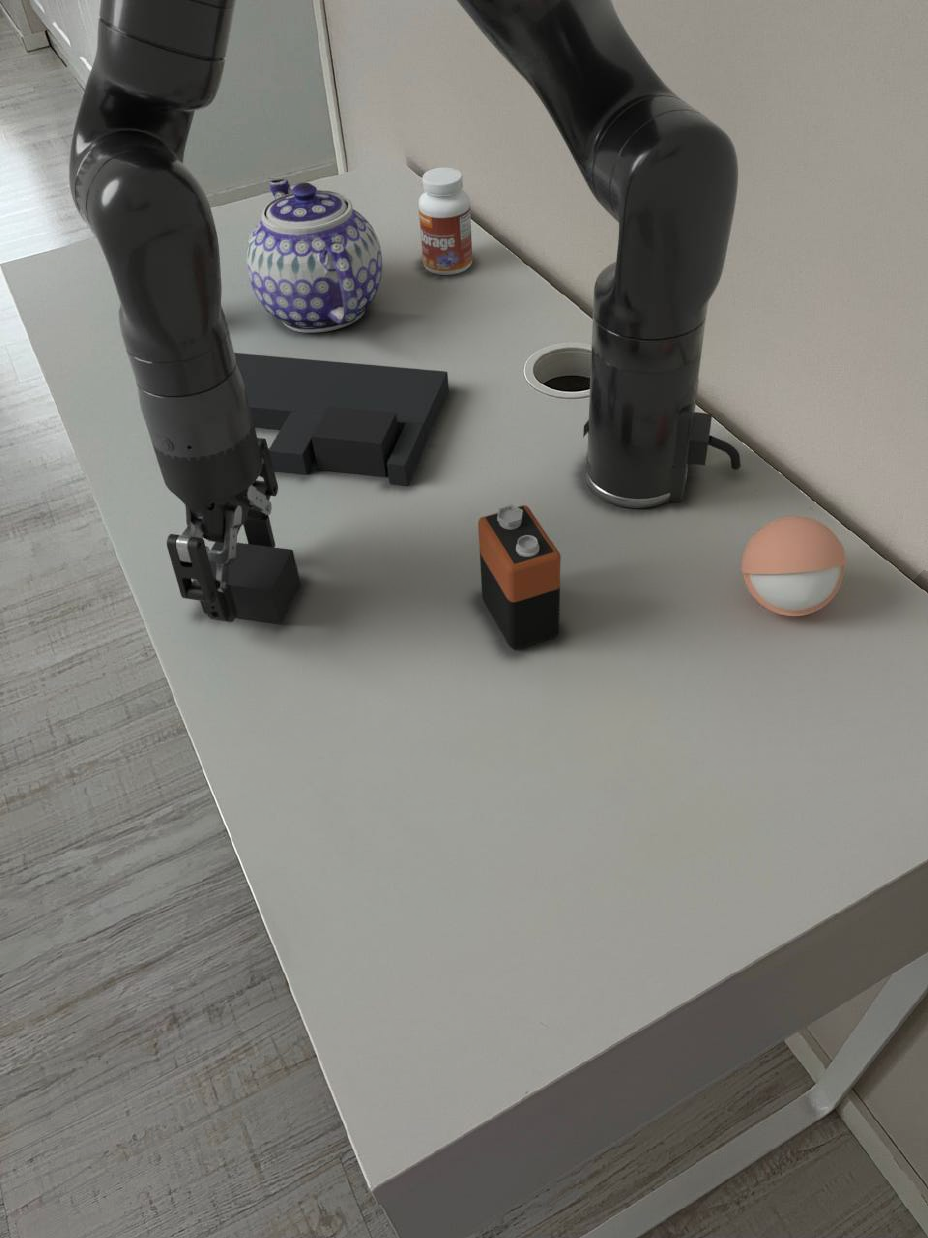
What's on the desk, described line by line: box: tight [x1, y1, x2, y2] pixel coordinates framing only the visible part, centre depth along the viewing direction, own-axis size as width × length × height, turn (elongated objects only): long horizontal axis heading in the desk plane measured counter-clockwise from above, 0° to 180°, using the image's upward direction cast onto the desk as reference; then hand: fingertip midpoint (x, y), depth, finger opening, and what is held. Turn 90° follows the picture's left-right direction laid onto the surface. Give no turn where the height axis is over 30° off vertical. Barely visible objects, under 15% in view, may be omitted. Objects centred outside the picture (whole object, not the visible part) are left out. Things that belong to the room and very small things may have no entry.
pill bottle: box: [418, 167, 473, 276], centre depth 123 cm, size 6×6×11 cm
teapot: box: [246, 178, 383, 334], centre depth 116 cm, size 25×15×15 cm, turn 21°
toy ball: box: [741, 515, 848, 617], centre depth 81 cm, size 8×8×8 cm
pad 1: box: [199, 542, 302, 625], centre depth 87 cm, size 7×5×4 cm
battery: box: [477, 504, 562, 650], centre depth 81 cm, size 4×7×10 cm, turn 21°
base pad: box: [234, 352, 450, 487], centre depth 104 cm, size 24×16×2 cm, turn 76°
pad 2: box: [312, 407, 399, 478], centre depth 99 cm, size 7×5×4 cm
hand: (244, 582), depth 87 cm, fingers open, 8 cm apart
